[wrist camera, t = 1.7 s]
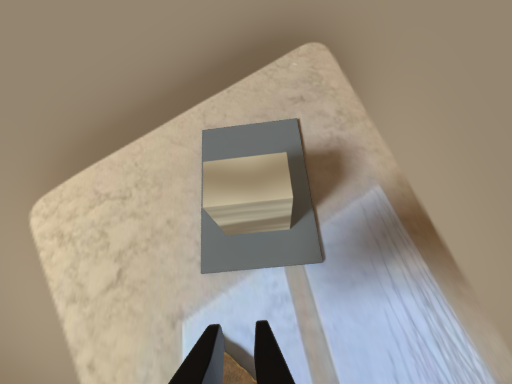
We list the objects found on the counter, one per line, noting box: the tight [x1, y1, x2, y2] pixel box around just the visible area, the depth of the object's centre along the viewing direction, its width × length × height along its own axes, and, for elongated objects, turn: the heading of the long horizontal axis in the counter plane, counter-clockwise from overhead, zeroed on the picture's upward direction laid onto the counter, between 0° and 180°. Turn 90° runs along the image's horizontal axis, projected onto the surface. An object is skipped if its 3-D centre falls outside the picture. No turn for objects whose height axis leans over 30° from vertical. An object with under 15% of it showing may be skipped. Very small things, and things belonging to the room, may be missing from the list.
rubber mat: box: [201, 118, 322, 274], centre depth 26 cm, size 16×11×1 cm
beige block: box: [203, 152, 293, 235], centre depth 21 cm, size 4×6×8 cm, turn 95°
